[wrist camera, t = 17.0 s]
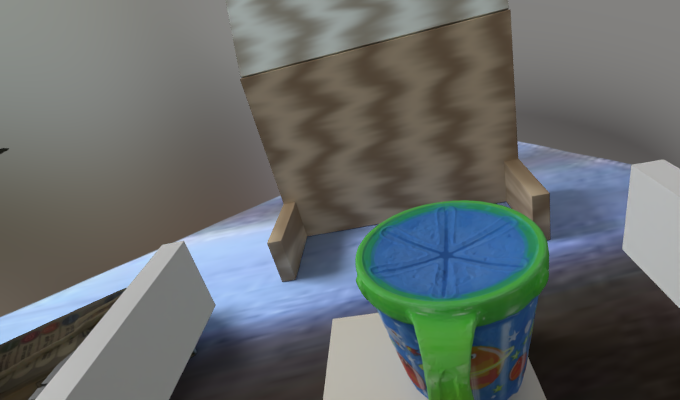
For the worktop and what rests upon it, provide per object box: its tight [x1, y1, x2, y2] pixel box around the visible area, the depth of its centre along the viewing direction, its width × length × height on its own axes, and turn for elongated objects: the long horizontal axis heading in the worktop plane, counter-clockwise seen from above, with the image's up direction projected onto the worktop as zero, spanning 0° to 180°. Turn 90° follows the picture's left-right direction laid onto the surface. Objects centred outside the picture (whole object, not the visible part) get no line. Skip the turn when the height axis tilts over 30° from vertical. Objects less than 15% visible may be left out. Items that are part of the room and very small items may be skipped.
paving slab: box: [323, 313, 547, 400], centre depth 28 cm, size 14×10×1 cm
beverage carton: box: [0, 288, 197, 400], centre depth 34 cm, size 8×19×7 cm, turn 120°
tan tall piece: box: [226, 0, 550, 282], centre depth 39 cm, size 27×20×42 cm
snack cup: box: [356, 200, 549, 400], centre depth 25 cm, size 16×10×10 cm
